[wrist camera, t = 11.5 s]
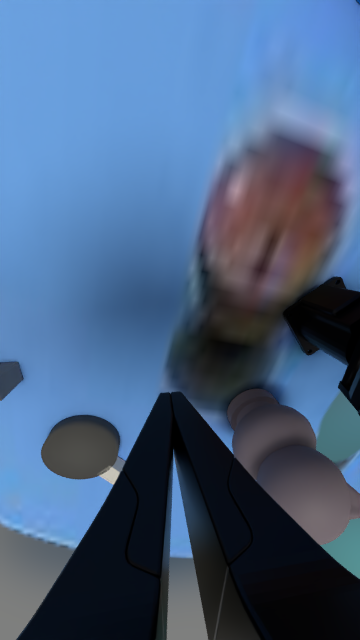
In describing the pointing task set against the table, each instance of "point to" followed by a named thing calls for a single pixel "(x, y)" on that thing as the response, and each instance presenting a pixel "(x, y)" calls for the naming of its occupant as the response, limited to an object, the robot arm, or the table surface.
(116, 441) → the ping pong paddle
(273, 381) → the table surface
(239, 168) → the table surface
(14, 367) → the breaker housing
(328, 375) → the table surface
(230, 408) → the cat figurine
